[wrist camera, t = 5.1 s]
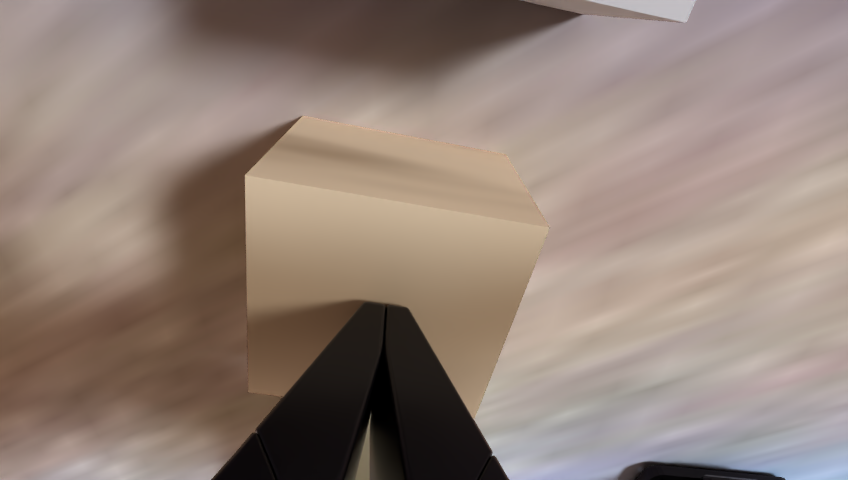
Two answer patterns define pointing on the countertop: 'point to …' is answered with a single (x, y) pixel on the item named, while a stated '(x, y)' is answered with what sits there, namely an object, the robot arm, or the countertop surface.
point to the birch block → (383, 248)
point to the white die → (626, 8)
